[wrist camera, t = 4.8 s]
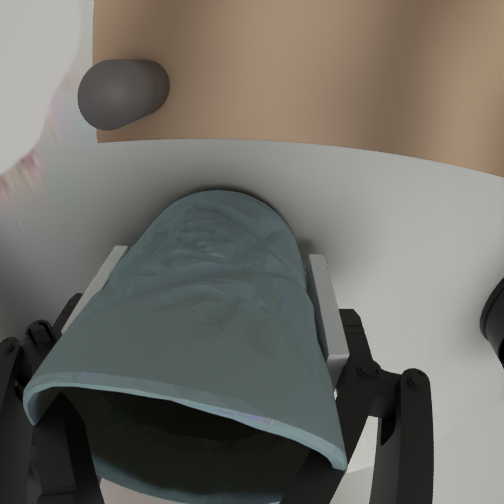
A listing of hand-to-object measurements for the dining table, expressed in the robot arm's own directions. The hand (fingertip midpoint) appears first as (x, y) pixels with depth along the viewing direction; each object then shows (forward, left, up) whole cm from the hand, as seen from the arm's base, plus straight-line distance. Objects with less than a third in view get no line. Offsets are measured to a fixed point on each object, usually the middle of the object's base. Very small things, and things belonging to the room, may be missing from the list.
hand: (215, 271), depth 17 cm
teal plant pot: (0, 0, -1) cm, 1 cm away
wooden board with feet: (+6, +17, -2) cm, 18 cm away
